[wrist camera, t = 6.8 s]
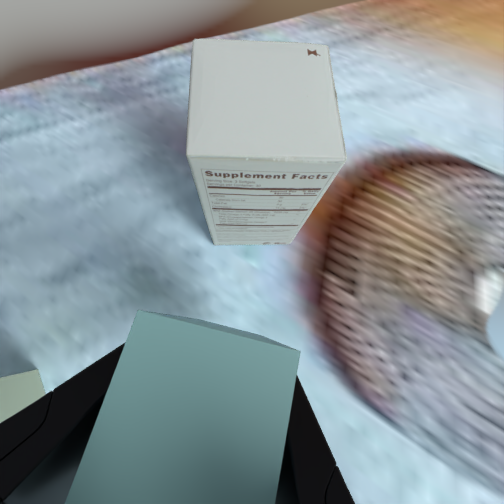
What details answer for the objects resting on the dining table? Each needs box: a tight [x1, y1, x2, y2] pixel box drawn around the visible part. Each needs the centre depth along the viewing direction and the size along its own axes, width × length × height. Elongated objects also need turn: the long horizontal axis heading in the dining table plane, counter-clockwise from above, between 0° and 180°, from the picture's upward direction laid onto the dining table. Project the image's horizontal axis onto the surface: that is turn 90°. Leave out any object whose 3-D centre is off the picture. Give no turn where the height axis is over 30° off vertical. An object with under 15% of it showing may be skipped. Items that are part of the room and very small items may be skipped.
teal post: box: [65, 310, 300, 504], centre depth 10 cm, size 4×4×10 cm
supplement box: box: [186, 39, 347, 245], centre depth 17 cm, size 7×7×13 cm
